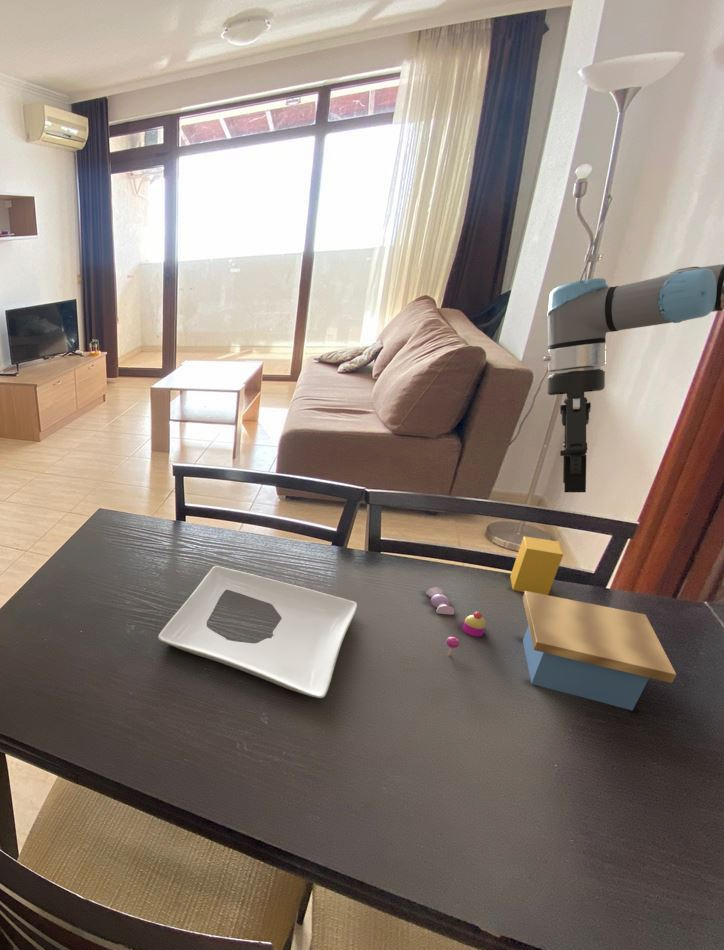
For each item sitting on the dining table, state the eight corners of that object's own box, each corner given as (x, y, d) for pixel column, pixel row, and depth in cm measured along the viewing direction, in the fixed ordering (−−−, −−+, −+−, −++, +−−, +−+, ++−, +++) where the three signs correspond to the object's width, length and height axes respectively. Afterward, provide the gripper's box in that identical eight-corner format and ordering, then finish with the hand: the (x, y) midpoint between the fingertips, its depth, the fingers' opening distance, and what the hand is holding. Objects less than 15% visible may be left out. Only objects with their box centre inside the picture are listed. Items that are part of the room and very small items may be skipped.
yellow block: (542, 586, 103) (558, 541, 98) (545, 600, 99) (563, 554, 95) (508, 580, 105) (523, 536, 101) (511, 594, 101) (526, 548, 97)
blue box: (611, 666, 84) (630, 625, 80) (630, 715, 76) (652, 672, 72) (521, 644, 89) (535, 605, 86) (529, 688, 81) (545, 647, 78)
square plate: (355, 617, 99) (359, 599, 97) (321, 717, 79) (324, 697, 78) (213, 577, 114) (214, 561, 112) (155, 652, 95) (155, 635, 93)
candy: (410, 597, 103) (417, 570, 100) (459, 601, 101) (467, 574, 98) (443, 662, 87) (452, 632, 85) (501, 669, 85) (512, 639, 82)
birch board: (641, 622, 81) (645, 614, 80) (672, 683, 70) (676, 674, 70) (522, 598, 88) (525, 590, 87) (533, 650, 77) (536, 642, 77)
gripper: (547, 375, 109) (546, 479, 111) (547, 372, 91) (545, 496, 93) (600, 369, 104) (598, 478, 106) (610, 365, 86) (607, 496, 88)
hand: (573, 487), depth 100 cm, fingers open, 13 cm apart
